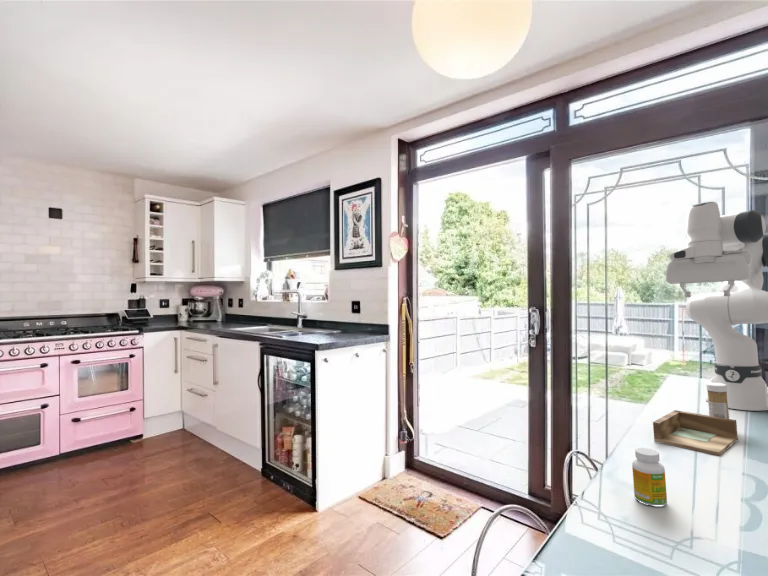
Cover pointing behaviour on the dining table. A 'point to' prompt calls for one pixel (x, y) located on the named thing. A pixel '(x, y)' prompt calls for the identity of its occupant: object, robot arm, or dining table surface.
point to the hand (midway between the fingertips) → (707, 296)
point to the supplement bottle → (649, 477)
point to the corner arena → (696, 431)
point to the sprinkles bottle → (717, 400)
